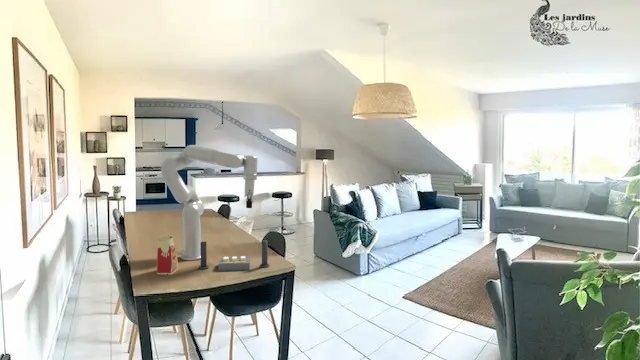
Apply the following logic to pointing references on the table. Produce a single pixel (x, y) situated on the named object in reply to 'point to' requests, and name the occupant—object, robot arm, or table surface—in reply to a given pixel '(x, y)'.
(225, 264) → the switch panel
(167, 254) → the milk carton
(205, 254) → the post
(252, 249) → the table surface
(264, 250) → the right cable post
